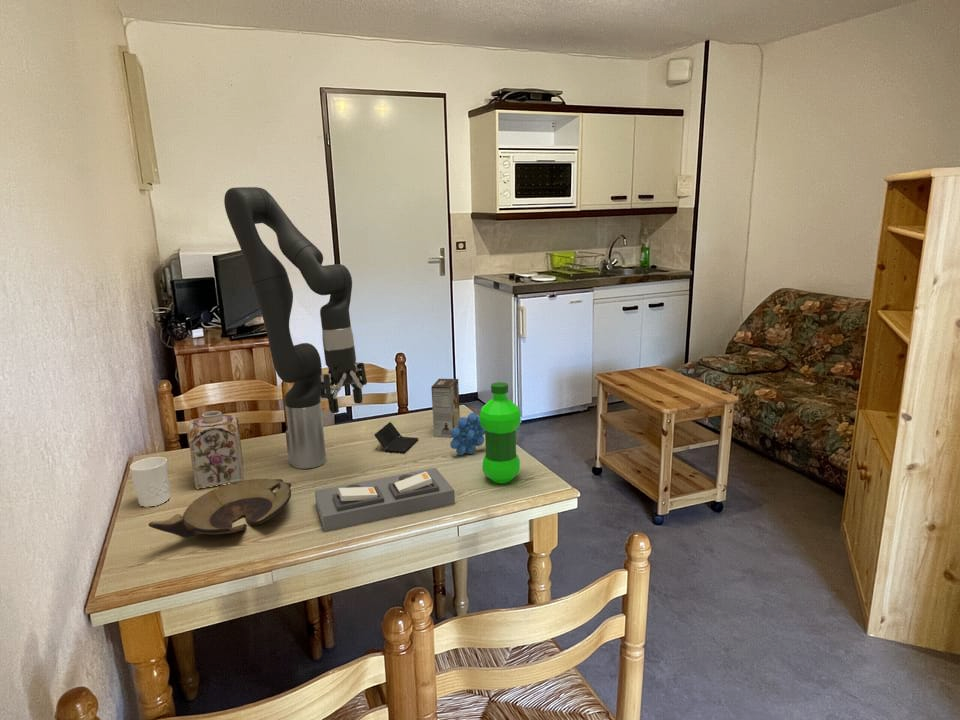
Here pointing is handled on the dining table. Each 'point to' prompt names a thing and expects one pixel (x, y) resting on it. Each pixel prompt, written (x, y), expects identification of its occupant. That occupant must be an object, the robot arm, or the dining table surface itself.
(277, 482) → the oil lamp
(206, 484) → the decorative jar
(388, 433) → the handheld gaming console
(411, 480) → the right rocker
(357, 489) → the left rocker
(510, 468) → the plastic bottle
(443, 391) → the coffee box
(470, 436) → the grapes
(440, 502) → the rocker switch panel
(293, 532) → the dining table surface
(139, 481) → the white cup
